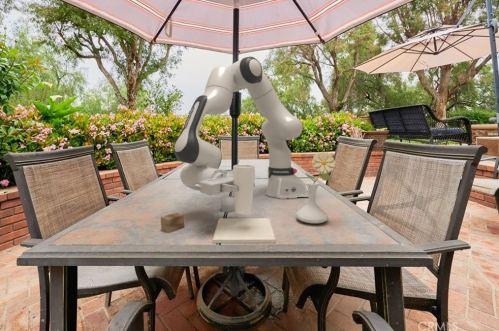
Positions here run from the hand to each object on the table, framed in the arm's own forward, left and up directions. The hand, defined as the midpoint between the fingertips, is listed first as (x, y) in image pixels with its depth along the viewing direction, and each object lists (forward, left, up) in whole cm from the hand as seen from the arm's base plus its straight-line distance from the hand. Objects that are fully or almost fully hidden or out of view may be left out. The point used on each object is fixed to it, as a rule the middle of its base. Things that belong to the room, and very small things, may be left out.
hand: (245, 187), depth 79 cm
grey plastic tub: (+7, -23, -15) cm, 28 cm away
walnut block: (+24, -3, -15) cm, 28 cm away
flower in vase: (-25, -10, -15) cm, 30 cm away
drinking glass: (+1, -1, -9) cm, 9 cm away
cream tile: (0, -1, -14) cm, 15 cm away
